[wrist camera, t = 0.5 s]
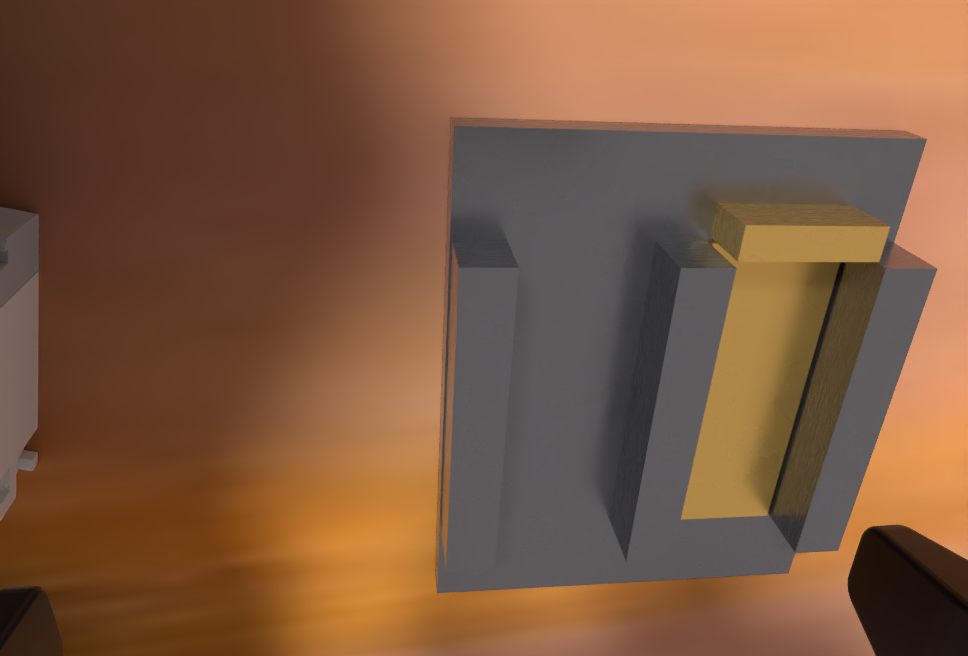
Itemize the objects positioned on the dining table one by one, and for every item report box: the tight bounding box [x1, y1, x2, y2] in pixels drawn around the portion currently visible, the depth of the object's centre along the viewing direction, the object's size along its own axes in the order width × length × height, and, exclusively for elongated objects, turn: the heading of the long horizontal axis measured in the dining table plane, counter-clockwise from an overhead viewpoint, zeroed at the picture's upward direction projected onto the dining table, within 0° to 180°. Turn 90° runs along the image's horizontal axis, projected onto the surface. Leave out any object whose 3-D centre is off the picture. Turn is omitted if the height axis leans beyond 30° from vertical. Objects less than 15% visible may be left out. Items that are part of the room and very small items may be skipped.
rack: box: [435, 117, 937, 593], centre depth 23 cm, size 16×13×3 cm
